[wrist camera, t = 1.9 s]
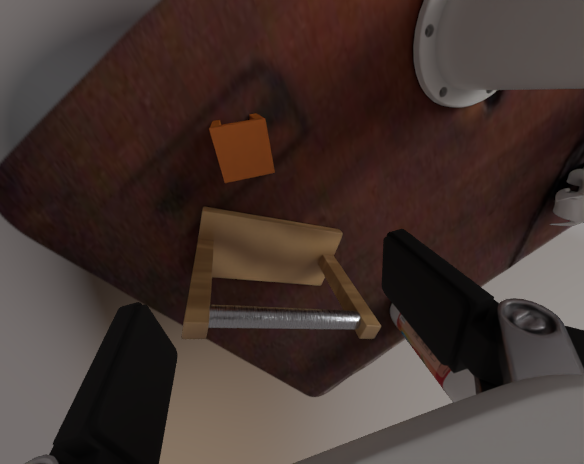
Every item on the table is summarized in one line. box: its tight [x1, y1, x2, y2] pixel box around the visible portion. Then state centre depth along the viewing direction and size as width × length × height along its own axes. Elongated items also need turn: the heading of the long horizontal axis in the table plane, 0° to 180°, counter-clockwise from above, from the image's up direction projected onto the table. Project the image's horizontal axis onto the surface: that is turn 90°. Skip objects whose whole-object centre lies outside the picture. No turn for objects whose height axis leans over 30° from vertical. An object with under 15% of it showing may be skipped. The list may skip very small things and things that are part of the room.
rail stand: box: [182, 207, 381, 339], centre depth 24 cm, size 8×16×12 cm, turn 73°
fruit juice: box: [390, 303, 476, 402], centre depth 29 cm, size 9×9×28 cm
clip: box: [209, 113, 275, 183], centre depth 21 cm, size 4×4×6 cm
